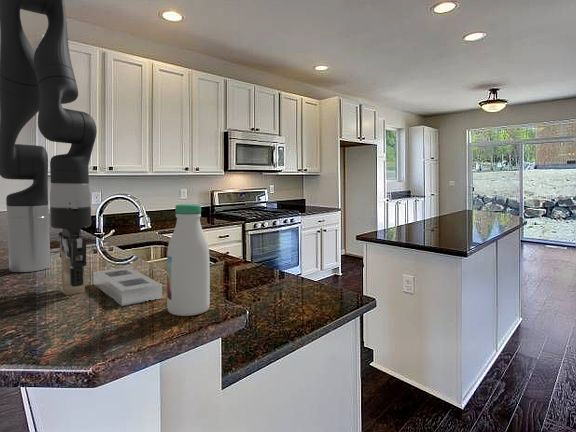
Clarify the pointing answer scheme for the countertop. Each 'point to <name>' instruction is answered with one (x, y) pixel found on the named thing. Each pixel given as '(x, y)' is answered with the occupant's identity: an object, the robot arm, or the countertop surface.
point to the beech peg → (66, 283)
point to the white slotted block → (127, 286)
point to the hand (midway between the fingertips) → (73, 282)
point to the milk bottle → (188, 264)
